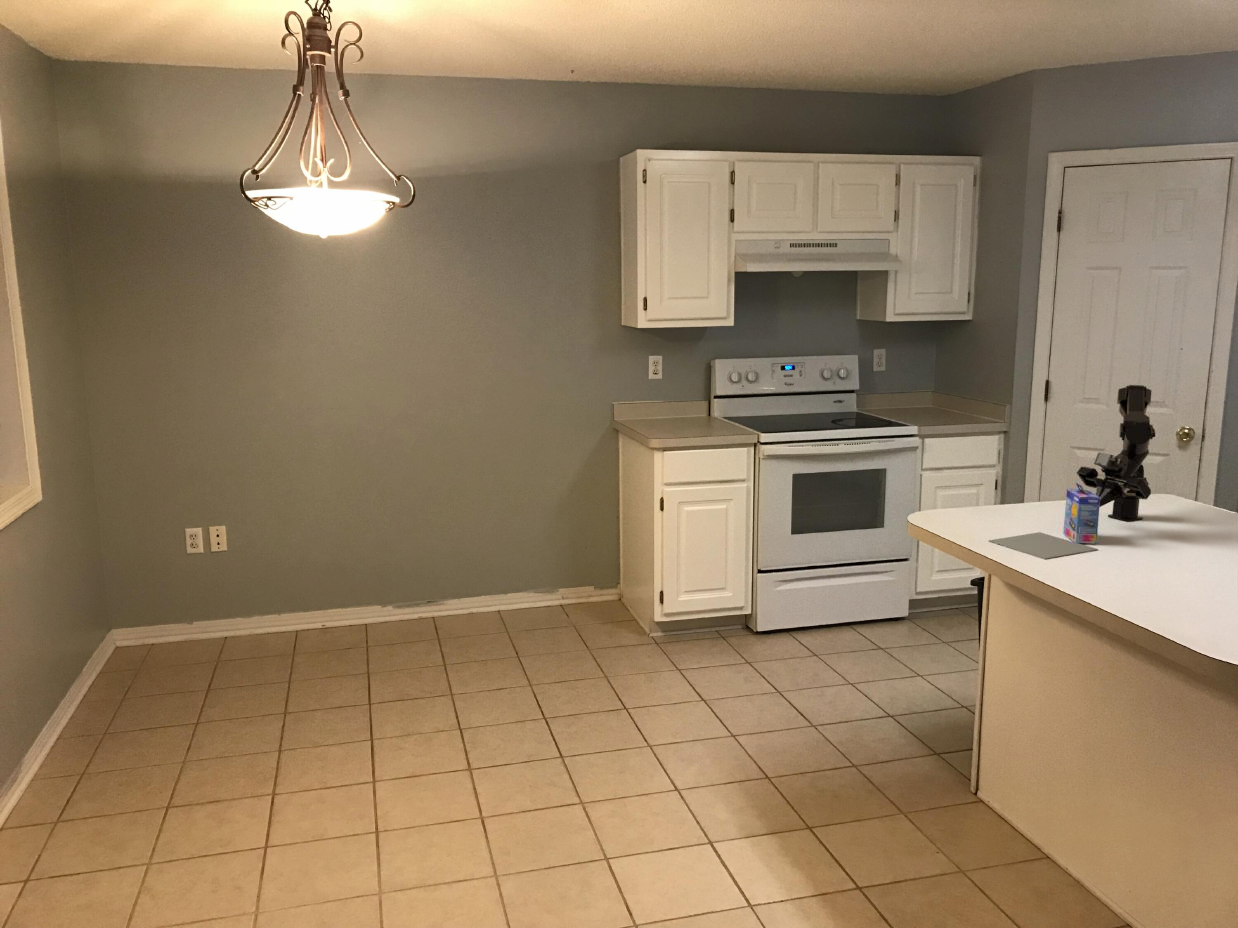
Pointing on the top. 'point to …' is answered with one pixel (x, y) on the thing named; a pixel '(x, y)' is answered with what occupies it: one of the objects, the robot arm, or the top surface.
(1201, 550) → the top surface
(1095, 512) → the ink cartridge box
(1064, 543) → the mat
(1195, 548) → the top surface
